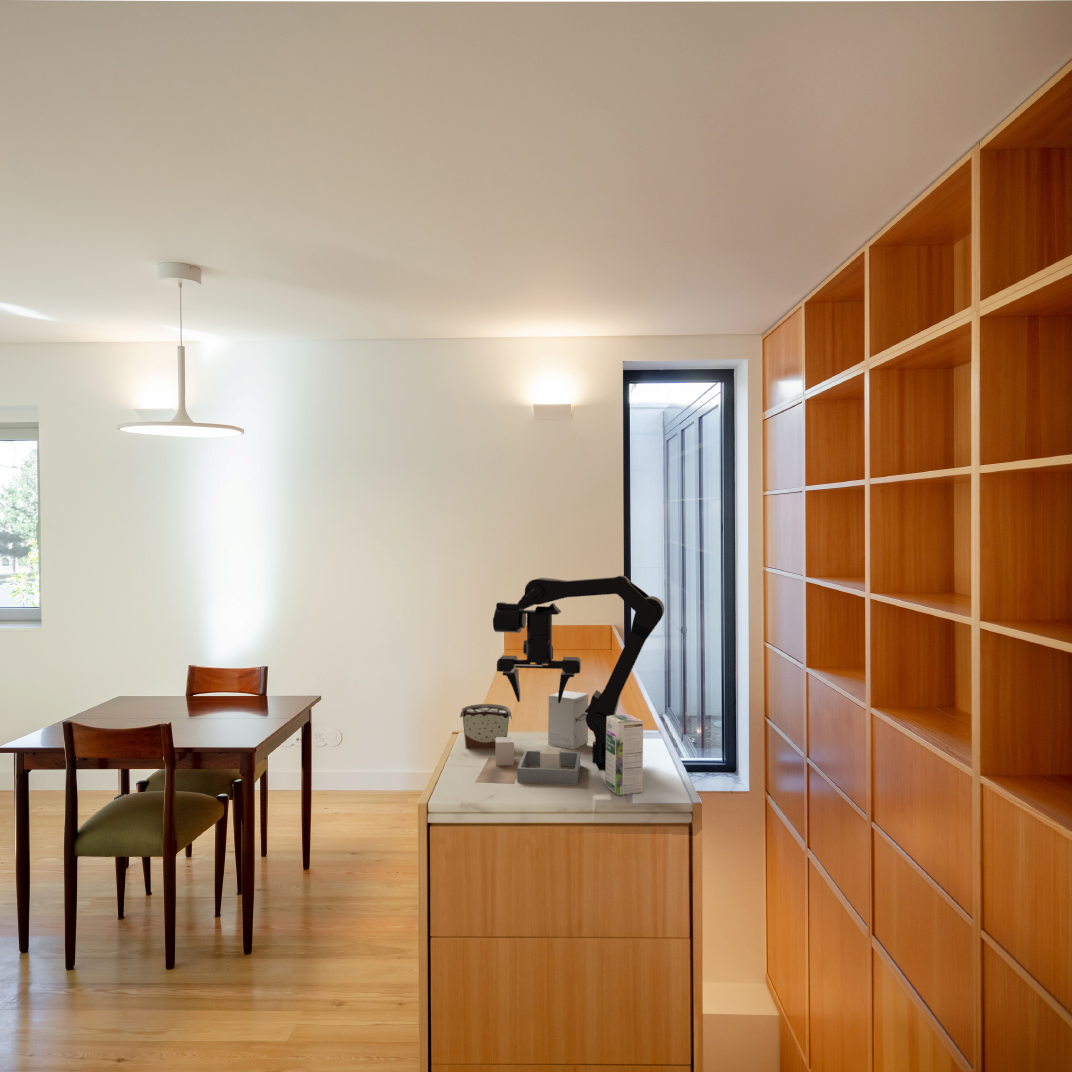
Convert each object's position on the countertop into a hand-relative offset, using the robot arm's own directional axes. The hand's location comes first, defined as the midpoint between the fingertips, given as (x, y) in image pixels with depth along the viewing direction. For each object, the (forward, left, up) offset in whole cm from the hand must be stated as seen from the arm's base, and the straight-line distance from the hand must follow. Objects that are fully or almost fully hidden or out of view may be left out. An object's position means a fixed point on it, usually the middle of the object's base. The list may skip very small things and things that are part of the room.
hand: (539, 702), depth 162 cm
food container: (+13, -7, -13) cm, 20 cm away
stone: (-4, +12, -12) cm, 17 cm away
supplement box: (-6, -11, -13) cm, 18 cm away
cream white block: (+7, +6, -12) cm, 15 cm away
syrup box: (-19, +17, -13) cm, 29 cm away
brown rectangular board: (+7, +11, -13) cm, 18 cm away
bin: (-4, +12, -13) cm, 18 cm away
